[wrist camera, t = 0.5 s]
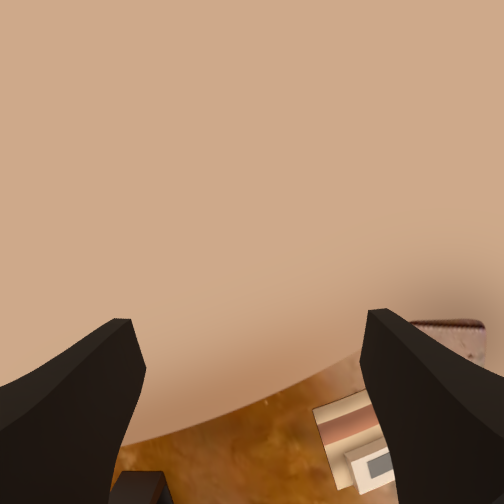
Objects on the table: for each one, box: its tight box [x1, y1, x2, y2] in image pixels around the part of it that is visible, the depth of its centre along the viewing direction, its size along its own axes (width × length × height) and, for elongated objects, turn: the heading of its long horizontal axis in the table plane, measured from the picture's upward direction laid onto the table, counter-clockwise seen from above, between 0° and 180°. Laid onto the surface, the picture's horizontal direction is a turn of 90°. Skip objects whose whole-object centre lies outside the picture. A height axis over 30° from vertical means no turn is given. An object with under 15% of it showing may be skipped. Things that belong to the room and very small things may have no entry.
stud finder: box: [344, 437, 395, 495], centre depth 27 cm, size 5×7×4 cm
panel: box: [312, 389, 384, 490], centre depth 30 cm, size 12×15×1 cm
